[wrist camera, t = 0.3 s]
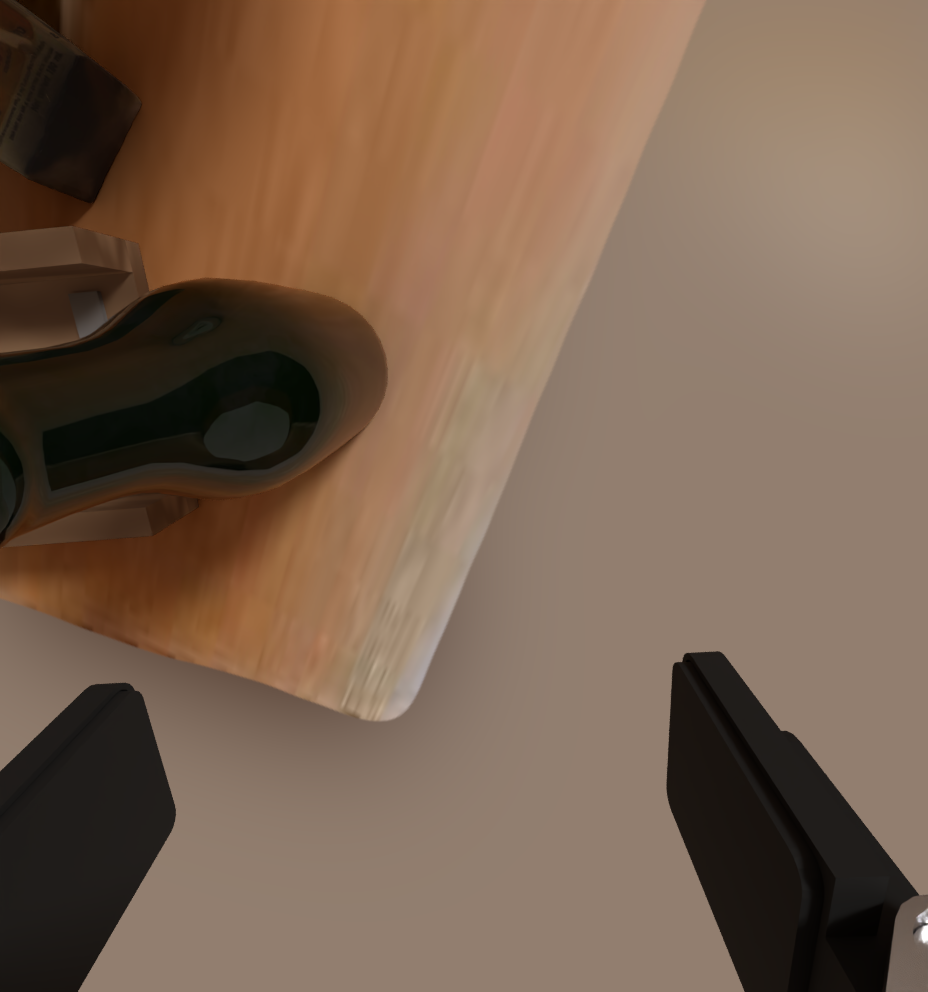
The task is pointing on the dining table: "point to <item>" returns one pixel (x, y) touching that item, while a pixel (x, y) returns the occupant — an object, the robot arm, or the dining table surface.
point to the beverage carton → (57, 107)
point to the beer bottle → (184, 399)
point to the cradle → (68, 317)
